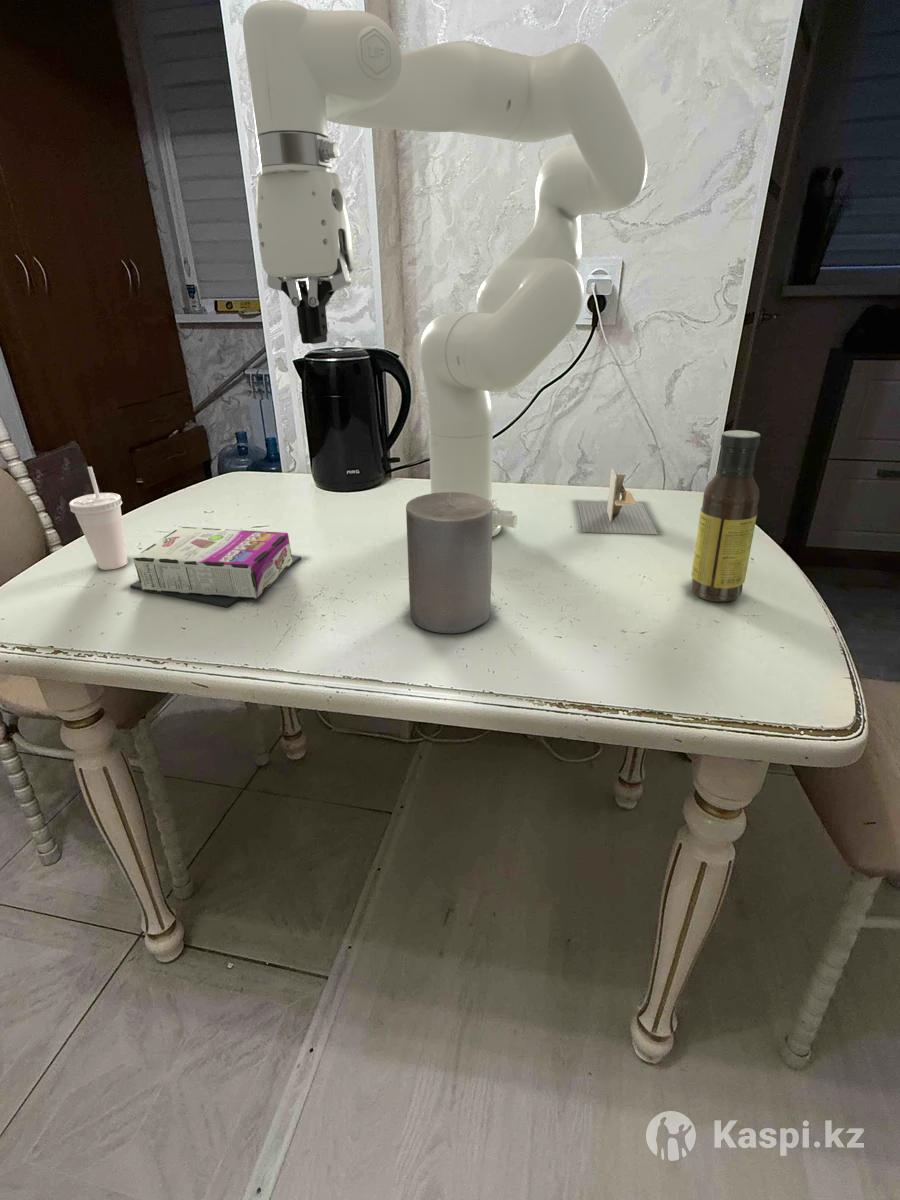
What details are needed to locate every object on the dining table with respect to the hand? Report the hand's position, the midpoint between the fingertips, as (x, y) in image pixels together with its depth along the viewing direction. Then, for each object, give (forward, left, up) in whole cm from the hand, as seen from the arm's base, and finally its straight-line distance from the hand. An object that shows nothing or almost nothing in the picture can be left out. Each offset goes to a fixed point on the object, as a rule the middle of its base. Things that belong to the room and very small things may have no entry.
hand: (314, 342), depth 76 cm
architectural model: (-34, -32, -29) cm, 55 cm away
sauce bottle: (-50, -8, -29) cm, 59 cm away
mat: (+14, +9, -29) cm, 33 cm away
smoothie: (+30, +12, -29) cm, 44 cm away
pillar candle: (-21, +9, -29) cm, 37 cm away
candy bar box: (+4, +9, -26) cm, 28 cm away
